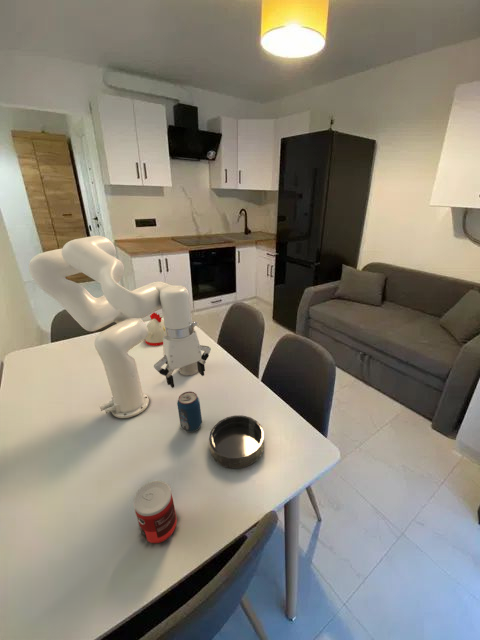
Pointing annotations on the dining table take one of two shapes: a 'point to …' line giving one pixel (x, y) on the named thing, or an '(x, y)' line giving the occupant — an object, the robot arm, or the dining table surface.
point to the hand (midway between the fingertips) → (186, 379)
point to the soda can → (189, 411)
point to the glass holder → (189, 369)
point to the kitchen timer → (155, 330)
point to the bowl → (236, 441)
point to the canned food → (155, 511)
